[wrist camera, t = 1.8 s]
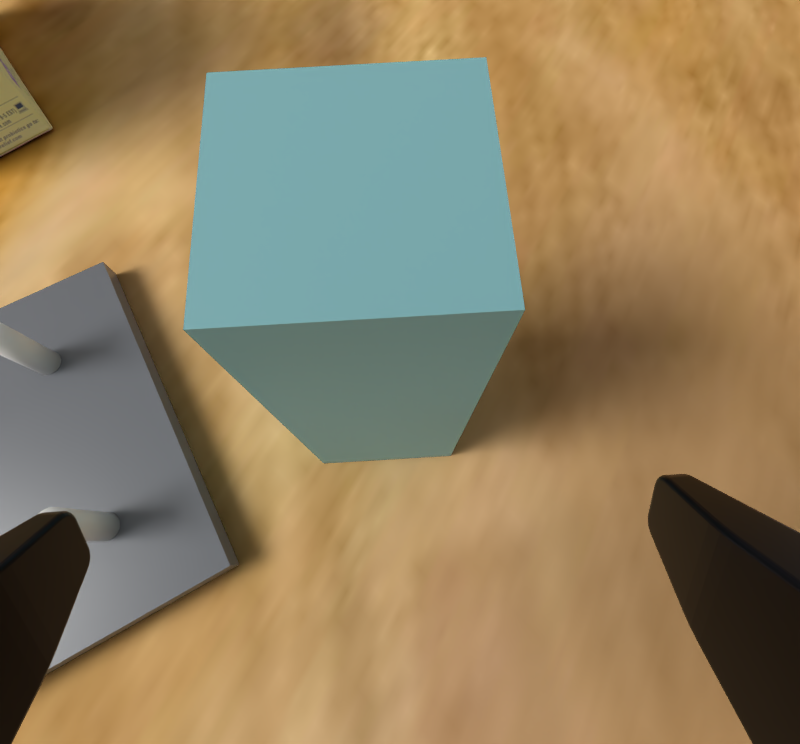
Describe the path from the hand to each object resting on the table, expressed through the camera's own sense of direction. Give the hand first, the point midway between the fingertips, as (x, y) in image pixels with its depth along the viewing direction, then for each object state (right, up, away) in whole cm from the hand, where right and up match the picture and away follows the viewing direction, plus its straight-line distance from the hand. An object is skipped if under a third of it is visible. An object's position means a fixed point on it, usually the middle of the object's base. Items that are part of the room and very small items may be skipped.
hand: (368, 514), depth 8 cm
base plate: (-15, -2, +12) cm, 19 cm away
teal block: (0, +1, +13) cm, 13 cm away
